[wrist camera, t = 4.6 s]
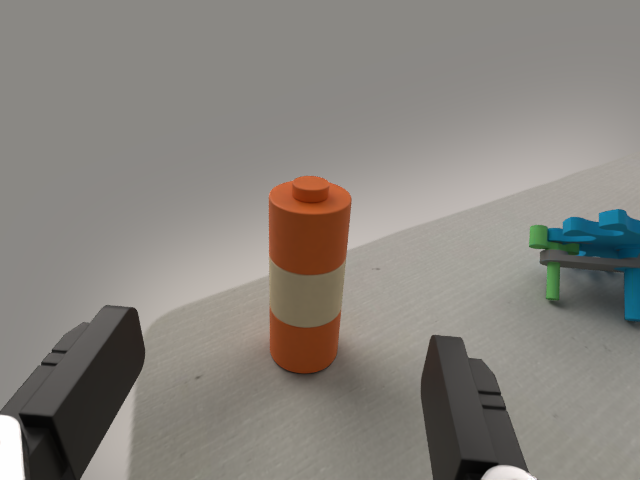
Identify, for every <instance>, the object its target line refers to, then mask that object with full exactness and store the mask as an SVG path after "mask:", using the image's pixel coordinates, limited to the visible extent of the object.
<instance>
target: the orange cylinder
mask: <svg viewBox="0 0 640 480" xmlns="http://www.w3.org/2000/svg"><path fill="white" fill-rule="evenodd" d="M350 210H351V196H350V194H349V193H348V192H347V191H346V190H345V189H343V188H342V187H340V186H338V185H335V184H332V183H329V182H328V181H327V180H325V179H323V178H320V177H316V176H303V177H299V178H296V179H295V180H293V181H290V182H286V183H283V184H280V185H278V186H276V187H274V188H273V189H272V190H271V192H270V194H269V285H270V353H271V356H272V357H273V359H274V361H275V362H276V363H277V364H278V365H279V366H281V367H282V368H284V369H286V370H288V371H291V372H295V373H313V372H317V371H320V370H322V369H324V368H326V367H328V366H329V365H330V364H331V363H332V362H333V360H334V359H335V357H336V355H337V349H338V338H339V327H340V317H341V306H342V296H343V285H344V275H345V264H346V253H347V243H348V232H349V222H350Z"/></svg>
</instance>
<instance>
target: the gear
mask: <svg viewBox="0 0 640 480" xmlns="http://www.w3.org/2000/svg"><path fill="white" fill-rule="evenodd" d="M529 247H531V248H534V249H546V250H543V251H541V252H540V264H542V265H546V266H547V291H546V299H548V300H559V286H560V267H565V268H577V269H588V270H600V271H611V272H623V273H624V303H625V320H628V321H636V322H640V221H639V220H635V219H632V218H630V217H629V216H627V214H626V211H624V210H621V209H616V210H610V211H605V212H602V213H599V222H593V221H589V220H586V219H583V218H579V217H570V218H568V219H566V220H565V221H564V222H563V229H560V228H549V229H547V227H546V226H543V225H534V226H531V227H530V240H529Z"/></svg>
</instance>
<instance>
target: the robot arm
mask: <svg viewBox="0 0 640 480" xmlns="http://www.w3.org/2000/svg"><path fill="white" fill-rule="evenodd" d="M144 359H145V347H144V341H143V336H142V331H141V326H140V321H139V316H138V312H137V310H136V309H135V308H133V307H122V306H110V305H106V306H104V307H103V308H102V309H101V310H100V311H99V312H98V314H97V315H96V316H95V317H94V319H93V320H92V321H91V322H90V323H85V322H83V323H81V324H80V325H78V326H77V327H75V328H74V329H72V330H71V331H69V332H68V333H66V334H65V335H64V336H63V337H62V338H61V340H60V341H59V342H58V343H57V344H56V345H55V347H54V348H53V349H52V352H51V353H49V354H48V355H47V356H46V357H45V359H44V360H43V361H42V362H41V366H38V367H37V368H36V369H35V370H34V372H33V373H32V374H31V375H30V377H29V378H28V379H27V380H26V381H25V382H24V383H23V385H22V386H21V387H20V388H19V389H18V391H17V392H16V393H15V394H14V396H13V397H12V398H11V399H10V400H9V401H8V402H7V404H6V405H5V406H4V407H3V408H2V410H1V411H0V480H80V478H81V477H82V475H83V473H84V471H85V470H86V468H87V466H88V464H89V463H90V461H91V459H92V457H93V455H94V454H95V452H96V450H97V448H98V447H99V445H100V443H101V441H102V440H103V438H104V436H105V434H106V432H107V431H108V429H109V427H110V425H111V424H112V422H113V420H114V418H115V416H116V415H117V413H118V411H119V409H120V408H121V406H122V404H123V402H124V401H125V399H126V397H127V395H128V393H129V392H130V390H131V388H132V386H133V385H134V383H135V381H136V379H137V378H138V376H139V374H140V372H141V370H142V367H143V364H144ZM421 401H422V407H423V414H424V421H425V427H426V434H427V441H428V447H429V454H430V461H431V467H432V474H433V480H537V479H536V478H535V477H534V476H532V475H531V474H530V473H529V471H528V469H527V466H526V464H525V461H524V458H523V455H522V452H521V449H520V446H519V443H518V441H517V438H516V435H515V432H514V429H513V426H512V423H511V420H510V418H509V415H508V412H507V411H506V406H505V403H504V400H503V397H502V396H501V392H500V389H499V386H498V383H497V380H496V377H495V375H494V374H493V372H492V371H491V370H490V369H489V368H488V367H487V365H486V364H485V363H484V362H483V361H482V359H473V358H468V356H467V352H466V349H465V345H464V342H463V340H462V338H461V337H451V336H440V335H432V336H431V339H430V342H429V347H428V351H427V356H426V360H425V364H424V369H423V373H422V379H421Z"/></svg>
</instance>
